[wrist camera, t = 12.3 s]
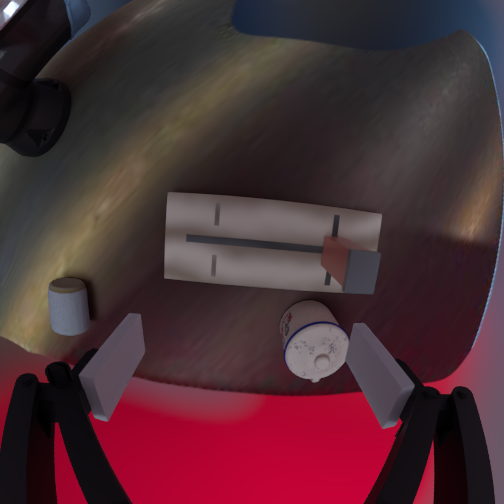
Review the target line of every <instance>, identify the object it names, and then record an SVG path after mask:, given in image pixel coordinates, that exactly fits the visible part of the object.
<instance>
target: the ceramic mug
mask: <svg viewBox="0 0 504 504" xmlns="http://www.w3.org/2000/svg"><path fill="white" fill-rule="evenodd" d="M48 299H49V311H50V321H51V327H52V329H53V330H54V331H55V332H56V333H58V334H62V335H69V336H72V335H78V334H81V333H83V332H85V331H87V330H88V329H89V327H90V318H89V309H88V299H87V290H86V286H85V284H84V282H83V281H81V280H79V279H76V278H60V279H56V280H53V281H52V282H50V284H49V288H48Z"/></svg>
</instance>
